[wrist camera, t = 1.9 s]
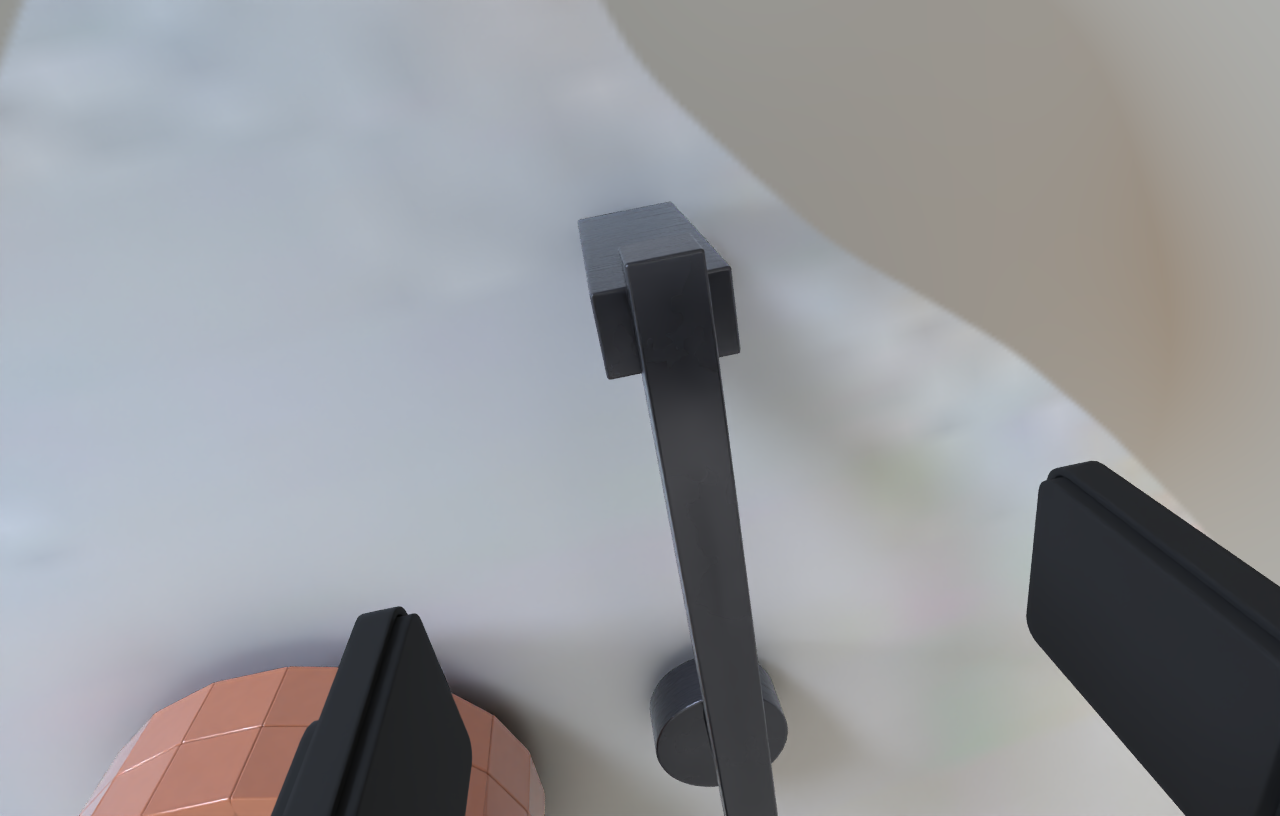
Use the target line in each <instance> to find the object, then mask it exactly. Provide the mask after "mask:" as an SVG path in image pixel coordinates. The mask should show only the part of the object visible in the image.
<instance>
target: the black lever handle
mask: <svg viewBox="0 0 1280 816" xmlns="http://www.w3.org/2000/svg"><path fill="white" fill-rule="evenodd" d="M578 227H579V233H580V239H581V245H582V251H583V257H584V263H585V269H586V276H587V282H588V288H589V294H590V299H591V304H592V309H593V313H594V318H595V323H596V327H597V332H598V337H599V341H600V346H601V351H602V356H603V360H604V365H605V370H606V374H607V378H608V379H616V378H621V377H625V376H630V375H635V374H640V373H641V374H642V379H643V385H644V390H645V395H646V401H647V406H648V411H649V417H650V422H651V427H652V433H653V438H654V443H655V449H656V454H657V459H658V465H659V470H660V475H661V481H662V486H663V491H664V497H665V502H666V507H667V513H668V518H669V523H670V529H671V534H672V540H673V545H674V550H675V556H676V561H677V566H678V572H679V577H680V582H681V588H682V593H683V598H684V604H685V609H686V614H687V620H688V625H689V630H690V636H691V641H692V646H693V652H694V657H695V659H693V660H690V661H688V662H685V663H683V664H681V665H680V666H678V667H676V668H675V669H673V670H672V671H671V672H669V673H668V674H667V675H666V676H665V677H664V678H663V679H662V680H661V681H660V682H659V684H658V685H657V687H656V688H655V690H654V692H653V695H652V697H651V701H650V715H651V721H652V728H653V735H654V741H655V748H656V754H657V758H658V761H659V763H660V764H661V766H662V768H663V769H664V770H665V771H666V772H667V773H668V774H669V775H670V776H672V777H673V778H675V779H677V780H679V781H681V782H684V783H687V784H690V785H695V786H704V787H715V786H719V791H720V796H721V801H722V807H723V812H724V816H778V813H777V805H776V798H775V790H774V782H773V774H772V767H771V763H773V761H774V760H775V759H776V758H777V757H778V756H779V754H780V753H781V751H782V750H783V748H784V746H785V743H786V740H787V734H788V727H787V722H786V719H785V716H784V713H783V710H782V708H781V705H780V702H779V699H778V697H777V694H776V691H775V688H774V685H773V683H772V680H771V678H770V676H769V675H768V673H767V672H766V671H765V670H764V669H763V668H762V667H761V666H760V665H758V658H757V650H756V643H755V635H754V627H753V619H752V612H751V604H750V596H749V588H748V581H747V573H746V565H745V557H744V550H743V542H742V534H741V526H740V519H739V511H738V503H737V495H736V488H735V480H734V472H733V464H732V457H731V449H730V441H729V433H728V426H727V418H726V410H725V402H724V395H723V387H722V379H721V371H720V364H719V357H723V356H728V355H733V354H738V353H740V342H739V333H738V324H737V315H736V306H735V298H734V289H733V280H732V271H731V267H730V266H729V265H728V264H727V262H726V261H725V260H724V259H723V258H722V257H721V256H720V255H719V254H718V253H717V251H716V250H715V249H714V248H713V247H712V246H711V245H710V244H709V243H708V242H707V240H706V239H705V238H704V237H703V236H702V235H701V234H700V233H699V232H698V231H697V229H696V228H695V227H694V226H693V225H692V224H691V223H690V222H689V221H688V220H687V218H686V217H685V216H684V215H683V214H682V213H681V212H680V211H679V210H678V209H677V207H676V206H675V205H674V204H673V203H672V202H666V203H661V204H656V205H651V206H646V207H641V208H636V209H631V210H626V211H620V212H615V213H610V214H605V215H600V216H595V217H590V218H585V219H580V220H578Z"/></svg>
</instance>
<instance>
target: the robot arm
mask: <svg viewBox="0 0 1280 816" xmlns="http://www.w3.org/2000/svg"><path fill="white" fill-rule="evenodd" d="M1026 618H1027V624H1028V628H1029V630H1030V633H1031V635H1032V636H1033V638H1034V640H1035V641H1036V642H1037V644H1038V645H1039V646H1040V647H1041V648H1042V649H1043V650H1044V652H1045V653H1046V654H1047V655H1048V656H1049V657H1050V659H1051V660H1052V661H1053V662H1054V663H1055V664H1056V666H1057V667H1058V668H1059V669H1060V670H1061V671H1062V673H1063V674H1064V675H1065V676H1066V677H1067V678H1068V680H1069V681H1070V682H1071V683H1072V684H1073V685H1074V687H1075V688H1076V689H1077V690H1078V691H1079V692H1080V693H1081V695H1082V696H1083V697H1084V698H1085V699H1086V700H1087V702H1088V703H1089V704H1090V705H1091V706H1092V707H1093V709H1094V710H1095V711H1096V712H1097V713H1098V714H1099V716H1100V717H1101V718H1102V719H1103V720H1104V721H1105V723H1106V724H1107V725H1108V726H1109V727H1110V728H1111V730H1112V731H1113V732H1114V733H1115V734H1116V735H1117V736H1118V738H1119V739H1120V740H1121V741H1122V742H1123V743H1124V745H1125V746H1126V747H1127V748H1128V749H1129V750H1130V752H1131V753H1132V754H1133V755H1134V756H1135V757H1136V759H1137V760H1138V761H1139V762H1140V763H1141V764H1142V766H1143V767H1144V768H1145V769H1146V770H1147V771H1148V773H1149V774H1150V775H1151V776H1152V777H1153V778H1154V779H1155V781H1156V782H1157V783H1158V784H1159V785H1160V786H1161V788H1162V789H1163V790H1164V791H1165V792H1166V793H1167V795H1168V796H1169V797H1170V798H1171V799H1172V800H1173V802H1174V803H1175V804H1176V805H1177V806H1178V807H1179V809H1180V810H1181V811H1182V812H1183V813H1184V814H1185V816H1280V587H1279V586H1278V585H1277V584H1275V583H1273V582H1272V581H1271V580H1269V579H1268V578H1266V577H1265V576H1264V575H1262V574H1261V573H1259V572H1258V571H1256V570H1255V569H1254V568H1252V567H1251V566H1249V565H1248V564H1246V563H1245V562H1243V561H1242V560H1241V559H1239V558H1237V557H1236V556H1235V555H1233V554H1232V553H1230V552H1229V551H1228V550H1226V549H1225V548H1223V547H1222V546H1220V545H1219V544H1217V543H1216V542H1215V541H1213V540H1212V539H1210V538H1209V537H1207V536H1206V535H1204V534H1203V533H1202V532H1200V531H1199V530H1197V529H1196V528H1194V527H1193V526H1192V525H1190V524H1189V523H1187V522H1186V521H1184V520H1183V519H1181V518H1180V517H1179V516H1177V515H1176V514H1174V513H1173V512H1171V511H1170V510H1168V509H1167V508H1166V507H1164V506H1163V505H1161V504H1160V503H1158V502H1157V501H1155V500H1154V499H1153V498H1151V497H1150V496H1148V495H1147V494H1145V493H1144V492H1142V491H1141V490H1140V489H1138V488H1137V487H1135V486H1134V485H1132V484H1131V483H1129V482H1128V481H1127V480H1125V479H1124V478H1122V477H1121V476H1119V475H1118V474H1117V473H1115V472H1114V471H1112V470H1111V469H1109V468H1108V467H1106V466H1105V465H1103V464H1101V463H1099V462H1097V461H1088V462H1083V463H1078V464H1074V465H1069V466H1064V467H1059V468H1056V469H1053V470H1052V471H1051V472H1050V473H1049V475H1048V478H1047V480H1046V481H1044V482H1042V483H1041V485H1040V487H1039V492H1038V502H1037V512H1036V522H1035V533H1034V543H1033V553H1032V563H1031V573H1030V584H1029V594H1028V604H1027V614H1026ZM471 767H472V747H471V741H470V738H469V735H468V732H467V730H466V727H465V725H464V723H463V720H462V718H461V715H460V713H459V710H458V708H457V706H456V703H455V701H454V698H453V696H452V694H451V691H450V689H449V686H448V684H447V681H446V679H445V677H444V674H443V672H442V669H441V667H440V664H439V662H438V660H437V657H436V655H435V652H434V650H433V648H432V645H431V643H430V640H429V638H428V635H427V633H426V631H425V628H424V626H423V623H422V621H421V619H420V617H419V616H418V615H417V614H409V615H408V614H407V613H406V611H405V610H404V609H403V608H402V607H399V606H398V607H393V608H389V609H384V610H379V611H374V612H370V613H365V614H362V615H360V616H359V617H358V618H357V620H356V622H355V625H354V627H353V630H352V633H351V635H350V638H349V641H348V643H347V646H346V649H345V651H344V654H343V657H342V659H341V662H340V665H339V667H338V670H337V672H336V675H335V678H334V680H333V683H332V686H331V688H330V691H329V694H328V696H327V699H326V702H325V704H324V707H323V709H322V712H321V715H320V717H319V720H317V721H313V722H312V723H311V724H310V725H309V726H308V727H307V728H306V730H305V732H304V734H303V736H302V738H301V740H300V743H299V745H298V748H297V750H296V753H295V755H294V758H293V760H292V763H291V765H290V768H289V771H288V773H287V776H286V778H285V781H284V783H283V786H282V788H281V791H280V793H279V796H278V798H277V801H276V804H275V806H274V809H273V811H272V814H271V816H465V814H466V806H467V799H468V791H469V783H470V775H471Z"/></svg>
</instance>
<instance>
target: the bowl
mask: <svg viewBox="0 0 1280 816" xmlns="http://www.w3.org/2000/svg"><path fill="white" fill-rule="evenodd" d="M337 670H338V667H303V666H290V667H283V668H279V669H274V670H269V671H264V672H260V673H255V674H250V675H246V676H241V677H236V678H232V679H227V680H222V681H218V682H216V683H215V682H214V683H212V684H210V685H208V686H206V687H204V688H202V689H200V690H198V691H196V692H194V693H192V694H191V695H189V696H187V697H185V698H183V699H181V700H179V701H177V702H175V703H173V704H171V705H169V706H167V707H165V708H163V709H162V710H160V711H158V712H156V713H155V714H154V715H153V716H152V717H151V718H150V719H149V720H148V721H147V722H146V723H145V725H144V726H143V727H142V728H141V729H140V730H139V731H138V732H137V733H136V734H135V736H134V737H133V738H132V739H131V740H130V741H129V742H128V743H127V744H126V745H125V747H124V748H123V749H122V750H121V751H120V752H119V753H118V755H117V756H116V758H115V759H114V761H113V762H112V764H111V766H110V767H109V769H108V770H107V772H106V773H105V775H104V777H103V778H102V780H101V781H100V783H99V784H98V786H97V788H96V789H95V791H94V792H93V794H92V795H91V797H90V799H89V800H88V802H87V803H86V805H85V806H84V808H83V809H82V811H81V813H80V814H79V816H271V814H272V811H273V809H274V806H275V804H276V801H277V798H278V796H279V793H280V791H281V788H282V786H283V783H284V781H285V778H286V776H287V773H288V771H289V768H290V765H291V763H292V760H293V758H294V755H295V753H296V750H297V748H298V745H299V743H300V740H301V738H302V736H303V734H304V732H305V730H306V728H307V727H308V726H309V725H310V724H311V723H312V722H313V721H317V720H319V717H320V715H321V712H322V709H323V707H324V704H325V702H326V699H327V696H328V694H329V691H330V688H331V686H332V683H333V680H334V678H335V675H336V672H337ZM451 694H452V696H453V698H454V701H455V703H456V706H457V708H458V710H459V713H460V715H461V718H462V720H463V723H464V725H465V727H466V730H467V732H468V735H469V738H470V741H471V747H472V767H471V775H470V783H469V791H468V799H467V806H466V814H465V816H545V792H544V789H543V787H542V784H541V781H540V779H539V776H538V773H537V771H536V768H535V765H534V763H533V760H532V757H531V755H530V752H529V750H528V749H527V748H526V747H525V746H524V745H523V744H522V743H521V742H520V741H519V740H518V739H517V738H516V737H515V736H514V735H513V734H512V733H511V732H510V731H509V730H508V729H507V728H506V727H505V726H504V725H503V724H502V723H501V722H500V721H499V719H498V718H497V717H496V716H495V715H492V714H491V713H489V712H487V711H485V710H483V709H481V708H480V707H478V706H476V705H474V704H472V703H470V702H468V701H466V700H464V699H463V698H461V697H459V696H457V695H455V694H453V693H451Z"/></svg>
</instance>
